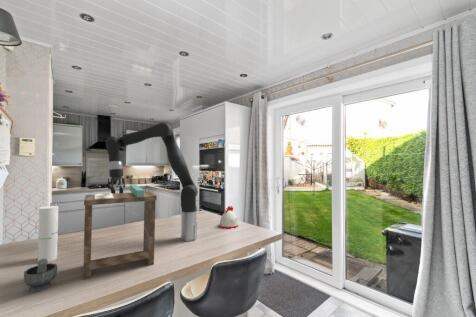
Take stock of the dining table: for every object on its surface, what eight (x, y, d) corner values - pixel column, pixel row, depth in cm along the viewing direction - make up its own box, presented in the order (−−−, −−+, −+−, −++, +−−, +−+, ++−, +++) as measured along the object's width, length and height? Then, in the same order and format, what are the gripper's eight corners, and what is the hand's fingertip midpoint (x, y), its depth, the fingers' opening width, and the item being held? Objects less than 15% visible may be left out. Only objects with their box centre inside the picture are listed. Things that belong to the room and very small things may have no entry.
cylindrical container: (60, 257, 112) (62, 206, 112) (44, 263, 105) (45, 209, 105) (50, 255, 114) (52, 205, 114) (34, 261, 107) (35, 207, 108)
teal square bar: (135, 190, 125) (135, 184, 125) (144, 196, 103) (144, 190, 103) (129, 190, 123) (129, 184, 123) (136, 197, 101) (137, 190, 101)
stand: (148, 252, 119) (149, 190, 119) (155, 265, 105) (156, 195, 106) (83, 265, 104) (85, 194, 105) (82, 280, 91) (84, 199, 91)
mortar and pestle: (22, 286, 86) (23, 254, 86) (54, 278, 92) (55, 248, 93) (24, 300, 78) (25, 264, 78) (58, 289, 84) (59, 257, 85)
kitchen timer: (241, 226, 171) (242, 206, 171) (228, 230, 161) (229, 209, 161) (228, 222, 180) (229, 203, 180) (215, 226, 170) (216, 206, 170)
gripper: (115, 167, 133) (116, 195, 131) (128, 168, 147) (129, 193, 145) (102, 169, 133) (104, 197, 131) (116, 170, 147) (118, 195, 146)
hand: (117, 195), depth 138 cm, fingers open, 8 cm apart
